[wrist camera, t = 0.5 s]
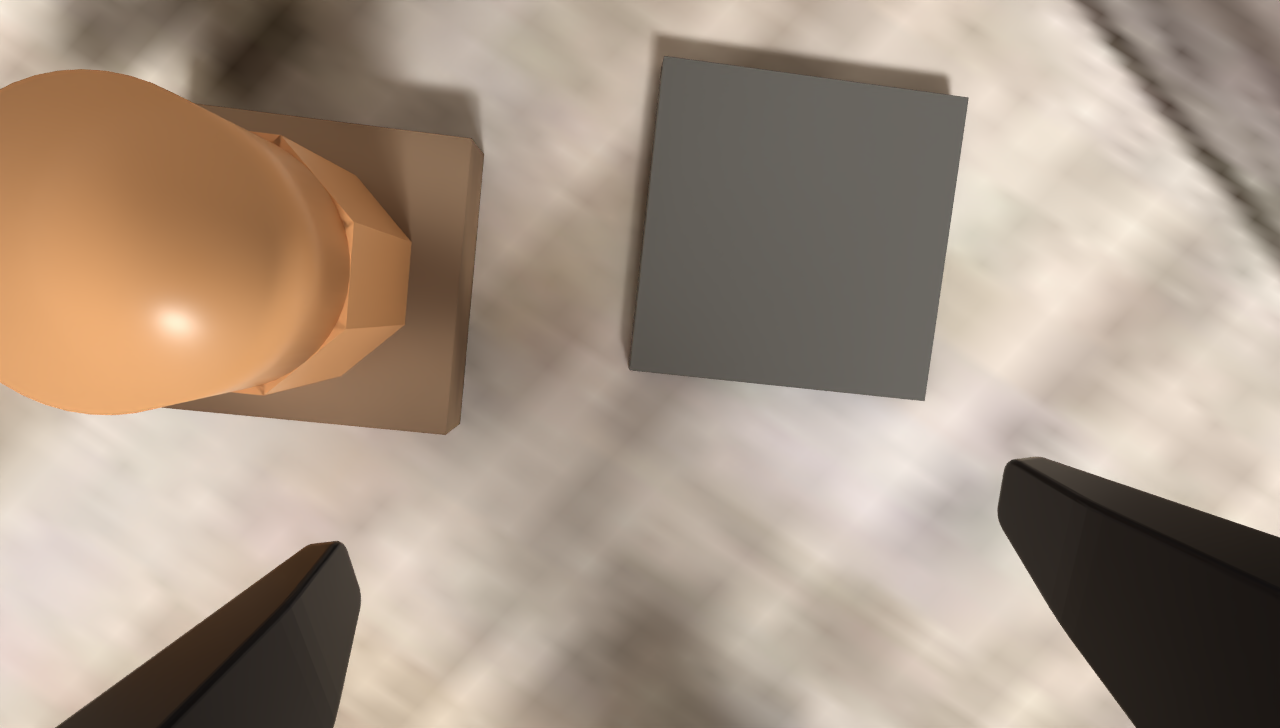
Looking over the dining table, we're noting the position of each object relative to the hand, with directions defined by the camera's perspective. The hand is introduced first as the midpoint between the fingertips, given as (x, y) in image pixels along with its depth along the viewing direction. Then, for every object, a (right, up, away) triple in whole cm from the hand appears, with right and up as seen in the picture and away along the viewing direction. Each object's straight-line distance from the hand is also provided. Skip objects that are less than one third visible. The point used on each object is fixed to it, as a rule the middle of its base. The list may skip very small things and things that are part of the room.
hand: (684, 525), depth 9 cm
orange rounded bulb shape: (-11, +5, +11) cm, 16 cm away
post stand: (-11, +5, +13) cm, 17 cm away
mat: (+4, +7, +13) cm, 15 cm away
